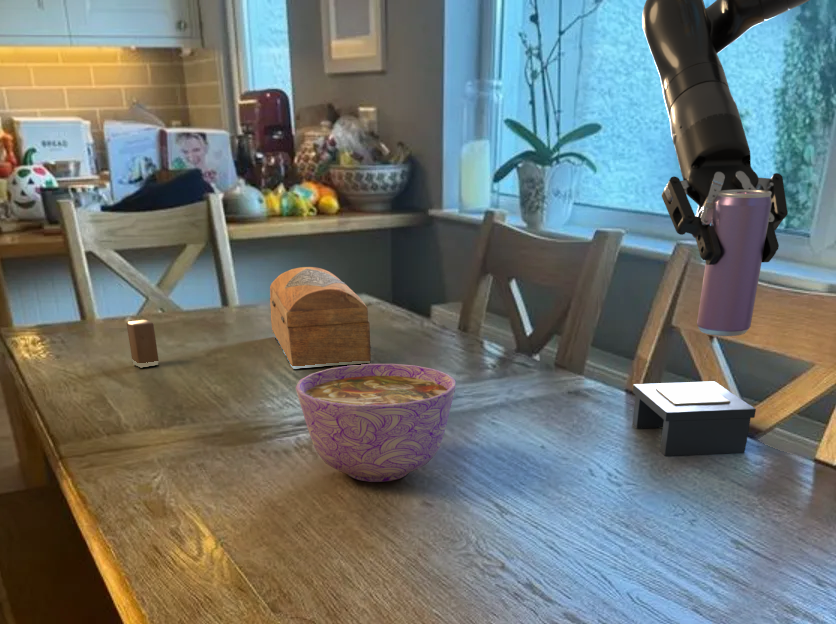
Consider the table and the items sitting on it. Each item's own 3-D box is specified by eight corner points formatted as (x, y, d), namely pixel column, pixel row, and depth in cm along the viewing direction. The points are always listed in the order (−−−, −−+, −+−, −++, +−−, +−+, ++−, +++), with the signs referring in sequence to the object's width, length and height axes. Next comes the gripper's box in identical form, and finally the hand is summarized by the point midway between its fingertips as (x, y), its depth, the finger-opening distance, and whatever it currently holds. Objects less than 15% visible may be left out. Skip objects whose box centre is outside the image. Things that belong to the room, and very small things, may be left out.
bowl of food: (300, 449, 126) (295, 366, 120) (442, 443, 127) (443, 360, 122) (302, 503, 108) (295, 409, 103) (466, 495, 110) (469, 401, 104)
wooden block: (139, 369, 168) (132, 325, 164) (132, 365, 171) (125, 321, 167) (160, 366, 170) (154, 322, 166) (152, 362, 173) (146, 319, 169)
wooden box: (376, 364, 167) (374, 286, 161) (288, 370, 165) (282, 291, 158) (349, 331, 193) (346, 263, 187) (271, 336, 190) (266, 267, 184)
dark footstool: (708, 421, 134) (714, 379, 131) (748, 452, 121) (756, 407, 118) (628, 424, 133) (633, 382, 130) (660, 456, 121) (666, 411, 118)
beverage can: (742, 339, 102) (766, 194, 95) (689, 333, 105) (709, 193, 98) (754, 328, 107) (779, 190, 100) (704, 323, 110) (724, 188, 102)
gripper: (662, 112, 101) (695, 239, 96) (781, 109, 103) (820, 234, 98) (637, 162, 108) (667, 283, 103) (749, 159, 110) (784, 277, 105)
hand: (742, 258), depth 101 cm, fingers closed on beverage can, 6 cm apart
